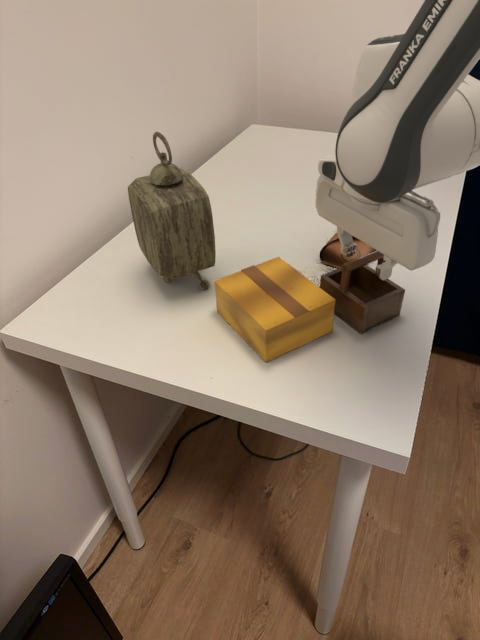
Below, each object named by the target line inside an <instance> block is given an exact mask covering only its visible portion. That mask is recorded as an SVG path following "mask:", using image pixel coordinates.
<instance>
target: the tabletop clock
mask: <svg viewBox="0 0 480 640" xmlns="http://www.w3.org/2000/svg"><path fill="white" fill-rule="evenodd" d="M152 134H153V135H152V144H153V148H154V151H155V154H156V155H157V157H158V159H159V161H160V163H157V164H156V165H154V166H153V167H152V168H151V170H150V173H149V175H145V176H140V177H136V178H135V179H134V180H133V181H132V182H131V183H130V184H129V185H128V186H127V194H128V200H129V205H130V210H131V216H132V217H131V218H132V221H133V226H134V230H135V231H134V232H135V235H136V239H137V243H138V246H139V248H140V251H141V253H142V255H143V256H144V257H145V259H146V260H147V262H148V264H149V265H150V266H151V268H152V269H153V270H154V272H155V273H156V274H157V275H158V276H159V277H162V280H163V282H164V283H170V282H171V281H172V280H174V279H177V278H180V277H184V276H187V275H191V274H192V275H194V277H195V278H196V279H197V280H198V281H199V287H200V288H201V289H202V290H207V289H209V287H210V282H209V281H208V280H206V279H203V277H202V276H201V274H200V271H203V270H206V269H210V268H214V267H215V266H216V235H215V226H214V217H213V211H212V204H211V201H210V197H209V195H208V192H207V191H206V189H205V188H204V186H203V185H202V184H201V183H200V182H199V181H198V180H197V179H196V178H195V176H194V175H192V174H191V173H189V172H188V171H187V170H185V169H184V168H183V167H180V168H179V166H177V165H176V164H174V163H173V155H172V154H173V153H172V150H171V147H170V144H169V141H168V140H167V138H166V136H165V135H163V134H162V133H161V132H159V131H155V132H154V133H152ZM157 138H158V139H160V141H161V142H162V143H163V145H164V147H165V149H166V152H167V153H166V152H164V151H162V152H160V150H159V148H158V145H157ZM167 154H168V155H167Z"/></svg>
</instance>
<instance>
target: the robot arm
mask: <svg viewBox="0 0 480 640" xmlns="http://www.w3.org/2000/svg"><path fill="white" fill-rule="evenodd" d="M479 60H480V0H424V1H423V3H422V4H421V6H420V7H419V10H418V11H417V12H416V14H415V16H414V18H413V19H412V21H411V23H410V25H409V26H408V28H407V29H406V31H405V33H402V34H393V35H389V36H383V37H378V38H375V39H373V40H371V41H370V42H368V44H366V45H365V46H364V48H363V50H362V52H361V55H360V57H359V60H358V63H357V67H356V72H355V76H354V80H353V81H354V82H353V88H352V93H351V100H350V101H351V102H350V107H349V109H348V110H347V112H346V114H345V115H344V118H343V120H342V122H341V124H340V127H339V130H338V133H337V137H336V143H335V152H334V154H331V155H328V156H326V157H322V158H321V159H319V161H318V162H317V163H318V164H317V171H318V173H319V176H318V178H317V181H316V188H315V201H314V205H315V209H316V212H317V214H318V216H319V217H321V218H323V219H324V220H326V221H327V222H329V223H331V224H332V225H334V226H336V233H337V234H338V237H339V240H340V243H341V251H340V252H341V253H342V254H343V255H345V256H346V257H350V256H353V255H354V254H355V252H356V250H355V249H356V244H355V243H353V239H352V236H354V237H356V238H357V239H359V240H361V241H362V242H364V243H366V244H367V245H369V246H371V247H372V248H374V249H376V251H379V252H380V253H382V254H384V258H383V259H384V260H385V261H386V262H385V263H382V265H378V266H377V265H376V266H375V271H376V272H375V275H376V276H377V277H379V278H380V279H382V280H385V279H390V278H391V277H392V273H393V268H394V267H395V266H397V264H398V265H400V266H402V267H404V268H405V269H407V270H409V271H415V270H419V269H420V268H422V267H425V266H427V265H428V264H430V263H431V262H433V261H434V259H435V256H436V251H437V245H438V237H439V226H440V221H441V212H440V211H439V209H438V207H437V206H436V205H435V204H434V203H435V201H433V199H431V198H430V197H429V196H424V195H421V194H420V193H418V192H416V191H415V190H417V189H419V188H422V187H425V186H428V185H431V184H435V183H436V182H441V181H443V180H446V179H449V178H451V177H454V176H457V175H460V174H462V173H465V172H468V171H470V170H473V169H475V168H477V167H479V166H480V79H477V78H475V77H473V76H472V75H470V73H471V71H472V70H473V69H474V67H475V66H476V65H477V63H478V62H479Z"/></svg>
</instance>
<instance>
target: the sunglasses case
mask: <svg viewBox="0 0 480 640" xmlns="http://www.w3.org/2000/svg"><path fill="white" fill-rule="evenodd" d="M352 239H353V243H355V244H356V249H355V250H356V252H355V254H354V255H353V256H350V257H346V256H345V255H343V254H342V253H341V252H340V251H341V243H340V240H339V237H338V234H337V232H335V233H334V234H333V235H332V237H330V239H329V240H328V241H327V243H326V244H325V245H324V246H322V248H321V249H320V251H319V255H318V256H319V260H320V261H321V263H322V264H324V265H326V266H329V267H331V268H334V269H338V268H341V267H342V265H343V264H344V263H348V262H351V261H353V260H356V259H358V258H360V257H363V256H365V255H368V254H370V253H373V252H375V251H377V250H376V249H374V248H372V247H371V246H369V245H367V244H366V243H364V242H362V241H361V240H359V239H357V238H356V237H354V236H352Z"/></svg>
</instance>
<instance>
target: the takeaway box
mask: <svg viewBox="0 0 480 640" xmlns="http://www.w3.org/2000/svg"><path fill="white" fill-rule="evenodd" d="M214 291H215V302H216V304H215V305H216V312H217V313H218V314H219V315H220V316H221V317H222V318H223V319H224V320H225V321H226V322H227V324H229V325H230V327H232V328H233V330H234V331H235V332H236V333H237V334H238V336H240V337H241V338H242V339H243V340H244V341H245V342H246V343H247V344H248V345H249V346H250V348H252V350H254V352H255V353H256V354H258V356H259V357H260V358H261V360H263V361H264V362H265V363H268V362H271V361H272V360H274V359H276V358H279V357H281V356H283V355H285V354H286V353H289V352H291V351H294V350H295V349H297V348H300V347H301V346H305V345H307V344H308V343H310V342H312V341H314V340H316V339H318V338H321V337H322V336H325V335H327V334H329V333H331V332H333V326H334V325H333V324H334V319H335V318H334V316H335V314H334V309H335V299H334V298H333V297H331V296H330V295H329V294H327V293H326V292H325V291H323V290H322V289H321V288H320V286H319V285H317V284H316V283H315V282H313V281H312V280H310V279H309V278H308V277H307V276H305V275H304V274H302V273H301V272H300V271H298V270H297V269H296V268H295V267H293V266H292V265H291V264H289V263H288V262H287V261H286V260H284V259H283V258H281V257H280V256H276V257H274V258H272V259H269V260H266V261H263V262H261V263H258V264H253V265H250V266H248V267H245V268H242V269H240V270H239V271H237V272H234V273H231V274H229V275H226V276H223V277H221V278H218V279H215V280H214Z"/></svg>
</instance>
